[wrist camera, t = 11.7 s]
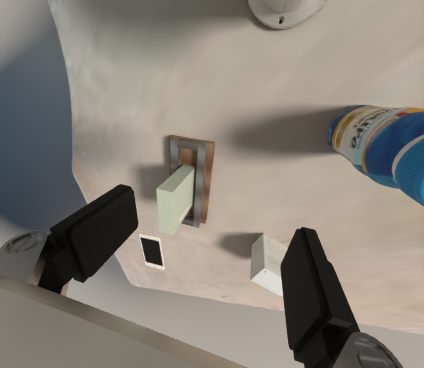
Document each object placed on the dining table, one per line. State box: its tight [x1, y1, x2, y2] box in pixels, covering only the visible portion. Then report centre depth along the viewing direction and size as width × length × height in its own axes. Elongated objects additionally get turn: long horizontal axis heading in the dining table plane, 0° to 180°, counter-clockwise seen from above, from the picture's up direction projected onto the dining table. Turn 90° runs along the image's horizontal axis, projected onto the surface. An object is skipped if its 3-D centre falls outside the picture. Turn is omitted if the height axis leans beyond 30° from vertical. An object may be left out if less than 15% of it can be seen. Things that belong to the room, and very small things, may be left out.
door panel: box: [156, 164, 196, 236], centre depth 36 cm, size 10×3×12 cm, turn 174°
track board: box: [169, 135, 215, 228], centre depth 41 cm, size 22×10×3 cm, turn 174°
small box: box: [250, 233, 288, 296], centre depth 41 cm, size 8×6×10 cm
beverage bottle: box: [327, 105, 424, 206], centre depth 21 cm, size 8×8×20 cm
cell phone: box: [139, 233, 165, 270], centre depth 60 cm, size 8×16×1 cm, turn 178°
